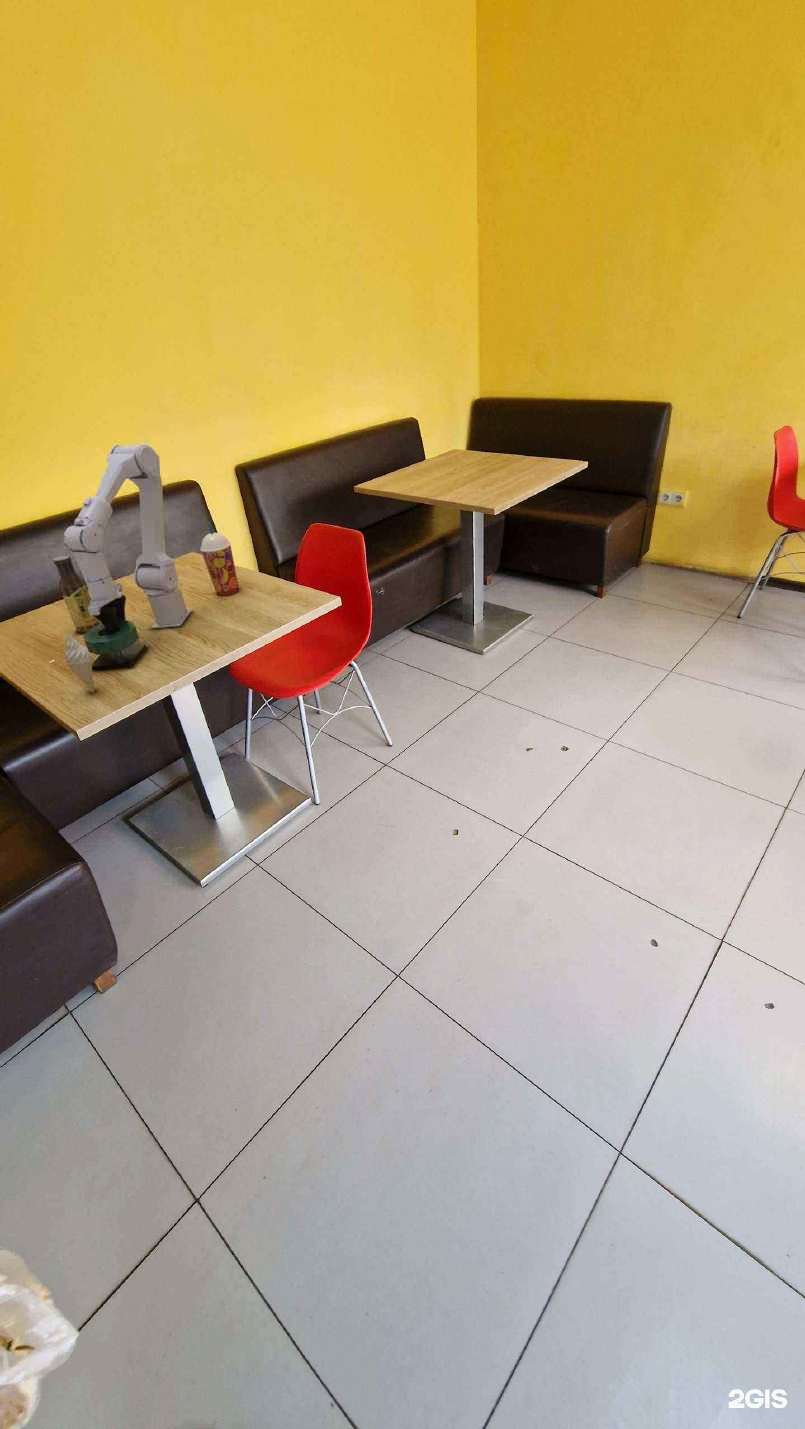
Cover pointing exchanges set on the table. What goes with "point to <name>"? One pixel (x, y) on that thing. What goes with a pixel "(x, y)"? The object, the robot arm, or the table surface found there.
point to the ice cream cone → (79, 661)
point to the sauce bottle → (75, 595)
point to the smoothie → (219, 562)
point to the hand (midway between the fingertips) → (118, 630)
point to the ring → (110, 638)
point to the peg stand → (119, 658)
